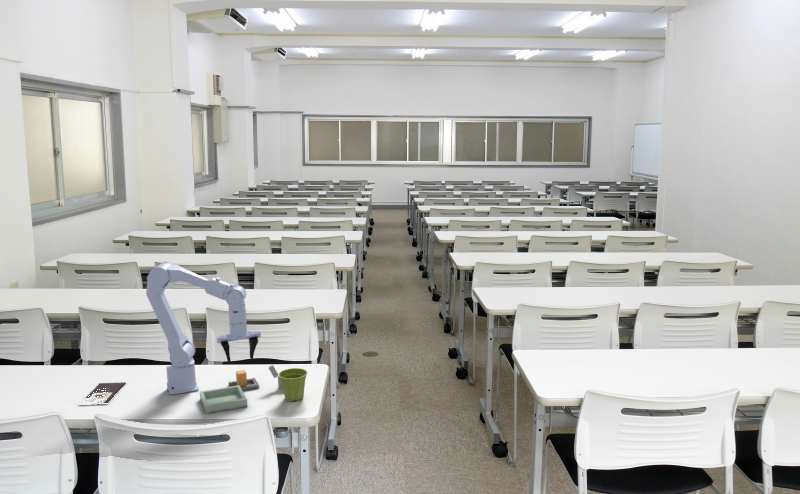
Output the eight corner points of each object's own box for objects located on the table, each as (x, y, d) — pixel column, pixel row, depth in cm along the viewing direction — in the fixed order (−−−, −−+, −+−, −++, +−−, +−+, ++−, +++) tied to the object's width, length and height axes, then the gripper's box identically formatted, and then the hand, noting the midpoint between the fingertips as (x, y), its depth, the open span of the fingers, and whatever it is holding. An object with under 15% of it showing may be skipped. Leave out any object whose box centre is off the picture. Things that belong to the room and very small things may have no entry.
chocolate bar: (125, 382, 242) (107, 403, 224) (126, 384, 242) (107, 405, 224) (99, 383, 241) (78, 404, 224) (100, 385, 242) (79, 406, 224)
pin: (238, 389, 235) (237, 374, 234) (236, 386, 238) (235, 371, 237) (247, 387, 236) (246, 372, 235) (245, 384, 239) (244, 369, 238)
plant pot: (295, 406, 221) (294, 380, 219) (273, 400, 226) (272, 375, 224) (314, 396, 229) (313, 371, 227) (292, 390, 233) (291, 366, 232)
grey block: (291, 386, 237) (289, 364, 236) (290, 388, 236) (289, 365, 234) (270, 386, 237) (269, 364, 235) (269, 388, 235) (268, 366, 234)
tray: (205, 414, 216) (205, 406, 215) (200, 399, 227) (199, 391, 227) (247, 406, 221) (246, 399, 220) (239, 392, 232) (239, 385, 232)
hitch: (231, 392, 232) (231, 389, 232) (228, 385, 239) (228, 382, 238) (259, 388, 236) (258, 384, 236) (255, 381, 242) (254, 377, 242)
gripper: (217, 328, 226) (220, 367, 229) (261, 322, 232) (263, 360, 234) (214, 322, 233) (217, 360, 235) (257, 316, 238) (259, 354, 241)
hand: (240, 360), depth 235 cm, fingers open, 7 cm apart
